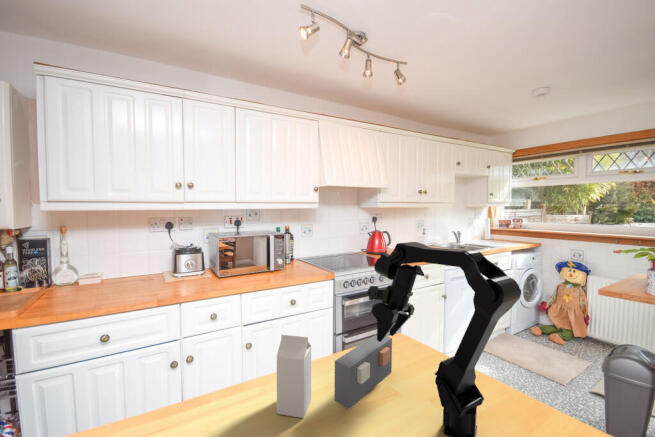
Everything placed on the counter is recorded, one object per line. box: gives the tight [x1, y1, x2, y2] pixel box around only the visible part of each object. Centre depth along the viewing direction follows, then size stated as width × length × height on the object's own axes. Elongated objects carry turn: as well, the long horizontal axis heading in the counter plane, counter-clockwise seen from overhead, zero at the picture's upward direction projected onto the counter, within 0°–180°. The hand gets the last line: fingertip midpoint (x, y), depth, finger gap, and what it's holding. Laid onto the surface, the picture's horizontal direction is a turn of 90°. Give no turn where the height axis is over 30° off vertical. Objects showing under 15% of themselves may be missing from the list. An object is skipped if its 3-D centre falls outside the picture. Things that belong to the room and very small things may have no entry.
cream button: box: [357, 361, 370, 384], centre depth 78 cm, size 2×4×4 cm, turn 139°
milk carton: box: [276, 334, 312, 419], centre depth 75 cm, size 7×7×19 cm
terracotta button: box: [379, 347, 390, 367], centre depth 87 cm, size 2×4×4 cm, turn 139°
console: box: [334, 333, 393, 410], centre depth 85 cm, size 5×22×11 cm, turn 139°
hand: (385, 338), depth 82 cm, fingers open, 9 cm apart
